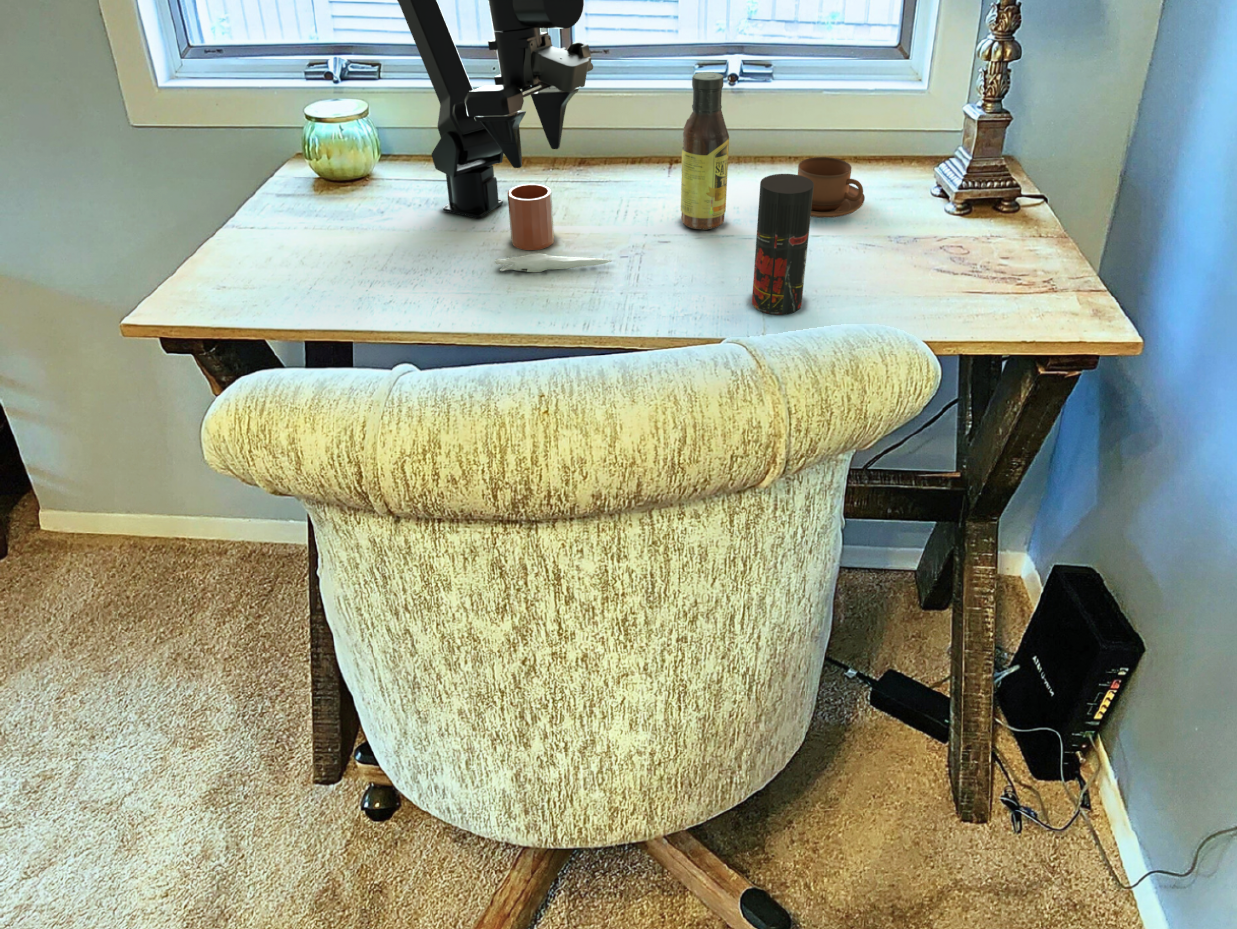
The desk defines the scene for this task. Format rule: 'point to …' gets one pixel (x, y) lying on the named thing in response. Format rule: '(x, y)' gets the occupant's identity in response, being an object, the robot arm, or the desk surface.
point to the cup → (531, 216)
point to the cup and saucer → (831, 187)
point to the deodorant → (781, 243)
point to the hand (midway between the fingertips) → (537, 157)
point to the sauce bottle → (705, 156)
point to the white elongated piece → (547, 262)
